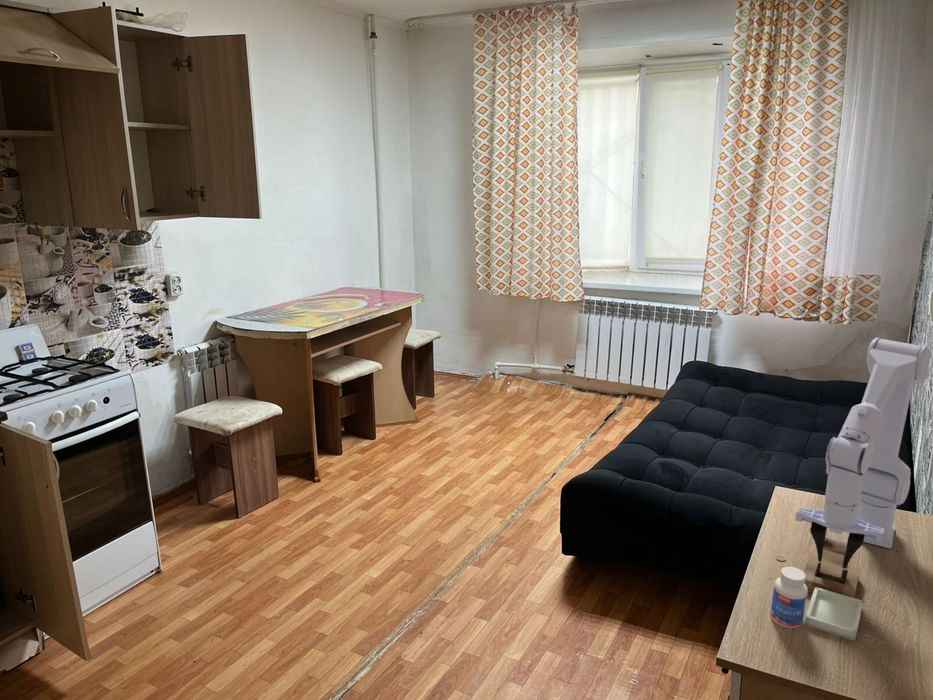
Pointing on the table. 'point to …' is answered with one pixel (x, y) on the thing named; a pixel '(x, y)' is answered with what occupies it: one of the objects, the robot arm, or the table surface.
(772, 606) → the pill bottle
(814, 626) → the tray
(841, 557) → the pink-ended wooden beam
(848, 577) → the wooden square frame
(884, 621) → the table surface
